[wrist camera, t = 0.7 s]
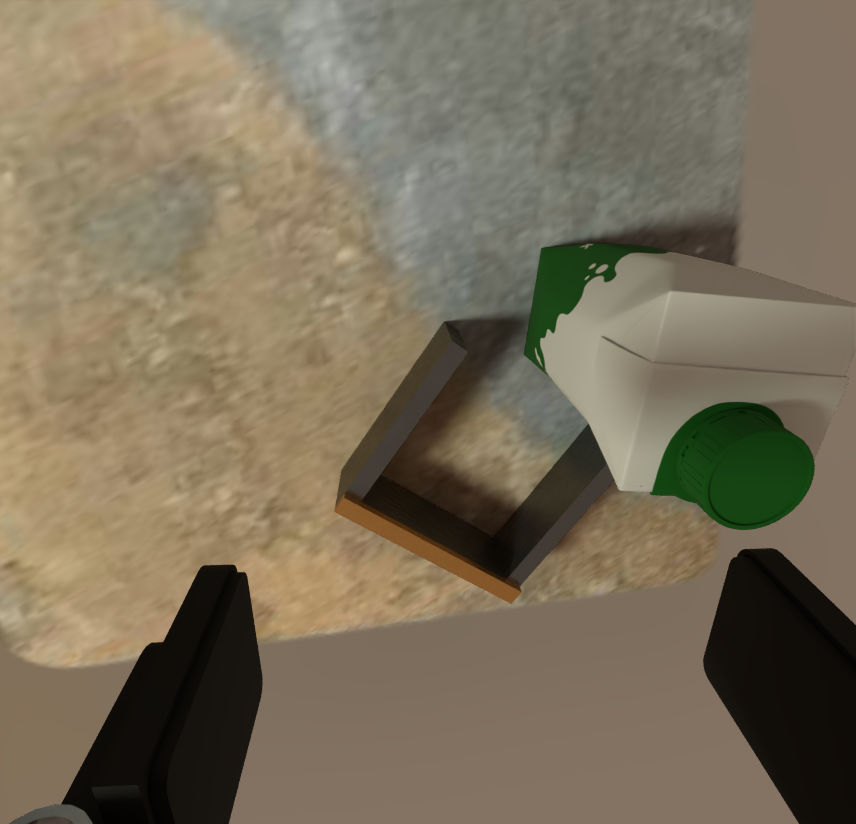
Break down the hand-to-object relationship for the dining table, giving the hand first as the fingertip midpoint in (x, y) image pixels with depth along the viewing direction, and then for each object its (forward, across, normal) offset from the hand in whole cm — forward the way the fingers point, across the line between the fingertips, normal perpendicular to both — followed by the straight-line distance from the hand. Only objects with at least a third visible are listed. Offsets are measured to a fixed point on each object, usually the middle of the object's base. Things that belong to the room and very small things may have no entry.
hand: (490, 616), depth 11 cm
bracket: (+28, -4, +10) cm, 30 cm away
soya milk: (+28, -11, 0) cm, 30 cm away
